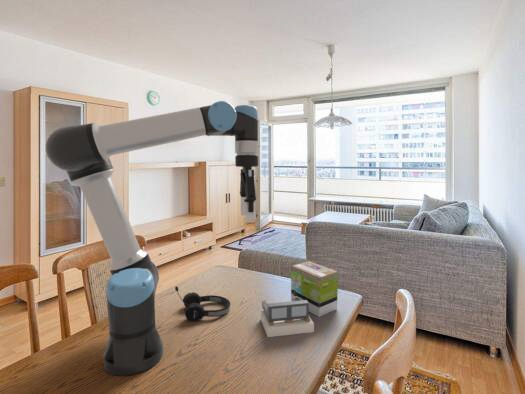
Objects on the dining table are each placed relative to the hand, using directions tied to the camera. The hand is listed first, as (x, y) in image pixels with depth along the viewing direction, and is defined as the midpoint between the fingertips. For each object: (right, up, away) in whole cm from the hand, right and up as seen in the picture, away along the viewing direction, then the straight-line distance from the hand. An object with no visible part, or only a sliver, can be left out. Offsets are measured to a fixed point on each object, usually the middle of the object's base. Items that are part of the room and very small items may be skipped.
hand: (247, 218), depth 103 cm
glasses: (+12, -31, -1) cm, 33 cm away
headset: (-16, -35, +8) cm, 39 cm away
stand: (+13, -35, -2) cm, 37 cm away
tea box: (+24, -34, +12) cm, 43 cm away
